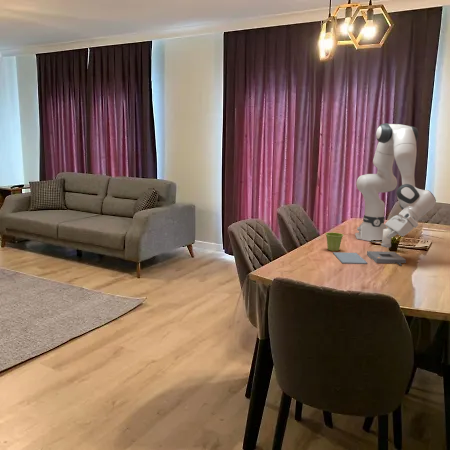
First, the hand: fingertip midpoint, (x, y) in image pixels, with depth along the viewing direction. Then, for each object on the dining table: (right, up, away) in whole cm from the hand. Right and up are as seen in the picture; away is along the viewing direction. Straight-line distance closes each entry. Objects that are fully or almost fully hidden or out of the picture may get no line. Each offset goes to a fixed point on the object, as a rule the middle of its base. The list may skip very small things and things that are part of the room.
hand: (385, 236), depth 235 cm
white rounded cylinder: (+1, -5, +1) cm, 5 cm away
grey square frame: (+1, -12, -1) cm, 12 cm away
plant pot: (-21, -8, +19) cm, 30 cm away
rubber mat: (-17, -11, +2) cm, 21 cm away
